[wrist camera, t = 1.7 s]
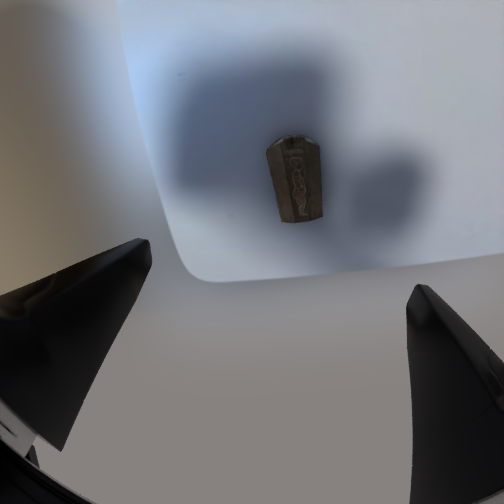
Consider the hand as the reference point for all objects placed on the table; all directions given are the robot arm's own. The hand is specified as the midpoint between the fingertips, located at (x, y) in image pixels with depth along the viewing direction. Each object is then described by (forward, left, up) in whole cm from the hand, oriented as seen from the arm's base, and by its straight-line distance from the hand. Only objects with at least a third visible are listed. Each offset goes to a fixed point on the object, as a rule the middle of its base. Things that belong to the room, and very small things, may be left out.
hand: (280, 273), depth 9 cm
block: (-1, +1, -13) cm, 13 cm away
